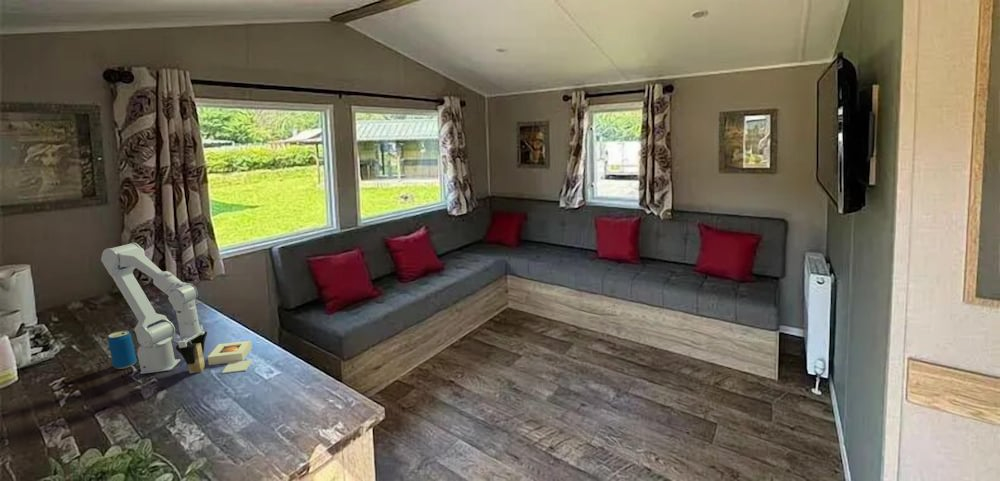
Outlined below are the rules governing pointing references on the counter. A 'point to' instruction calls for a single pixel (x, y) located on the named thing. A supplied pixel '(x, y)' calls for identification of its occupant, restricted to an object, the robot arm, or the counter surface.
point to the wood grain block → (197, 360)
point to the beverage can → (122, 349)
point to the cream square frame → (229, 353)
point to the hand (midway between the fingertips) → (195, 358)
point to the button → (230, 349)
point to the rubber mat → (237, 366)
